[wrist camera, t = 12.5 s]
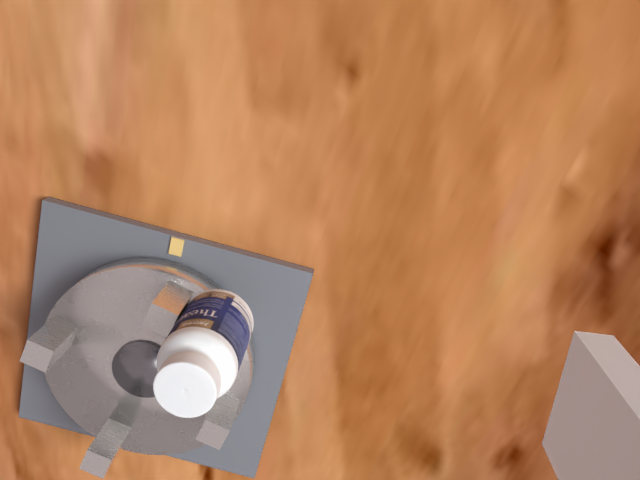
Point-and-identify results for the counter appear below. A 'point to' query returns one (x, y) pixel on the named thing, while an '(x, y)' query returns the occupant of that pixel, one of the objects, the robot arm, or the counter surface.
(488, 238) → the counter surface
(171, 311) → the grey shallow round piece
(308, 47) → the counter surface
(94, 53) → the counter surface
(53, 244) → the grey square plate
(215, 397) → the pill bottle
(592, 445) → the robot arm
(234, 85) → the counter surface
